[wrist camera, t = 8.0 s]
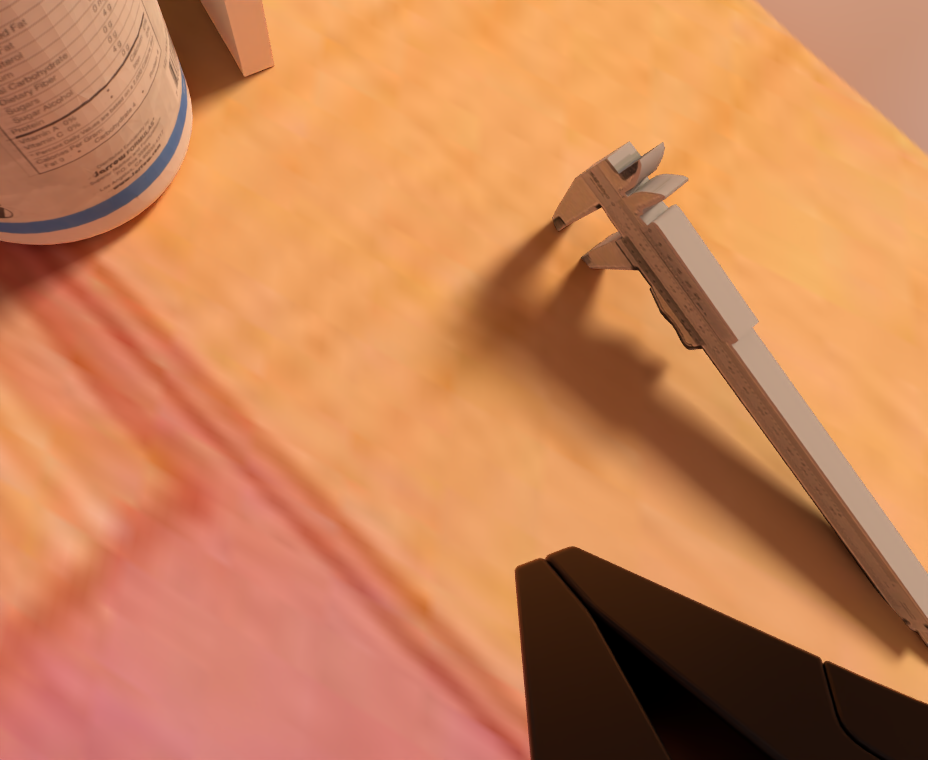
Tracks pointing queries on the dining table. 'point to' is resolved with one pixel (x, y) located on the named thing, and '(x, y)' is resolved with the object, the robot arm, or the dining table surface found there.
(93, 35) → the supplement tub
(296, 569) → the dining table surface
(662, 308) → the caliper
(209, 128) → the dining table surface
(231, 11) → the cradle
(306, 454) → the dining table surface
